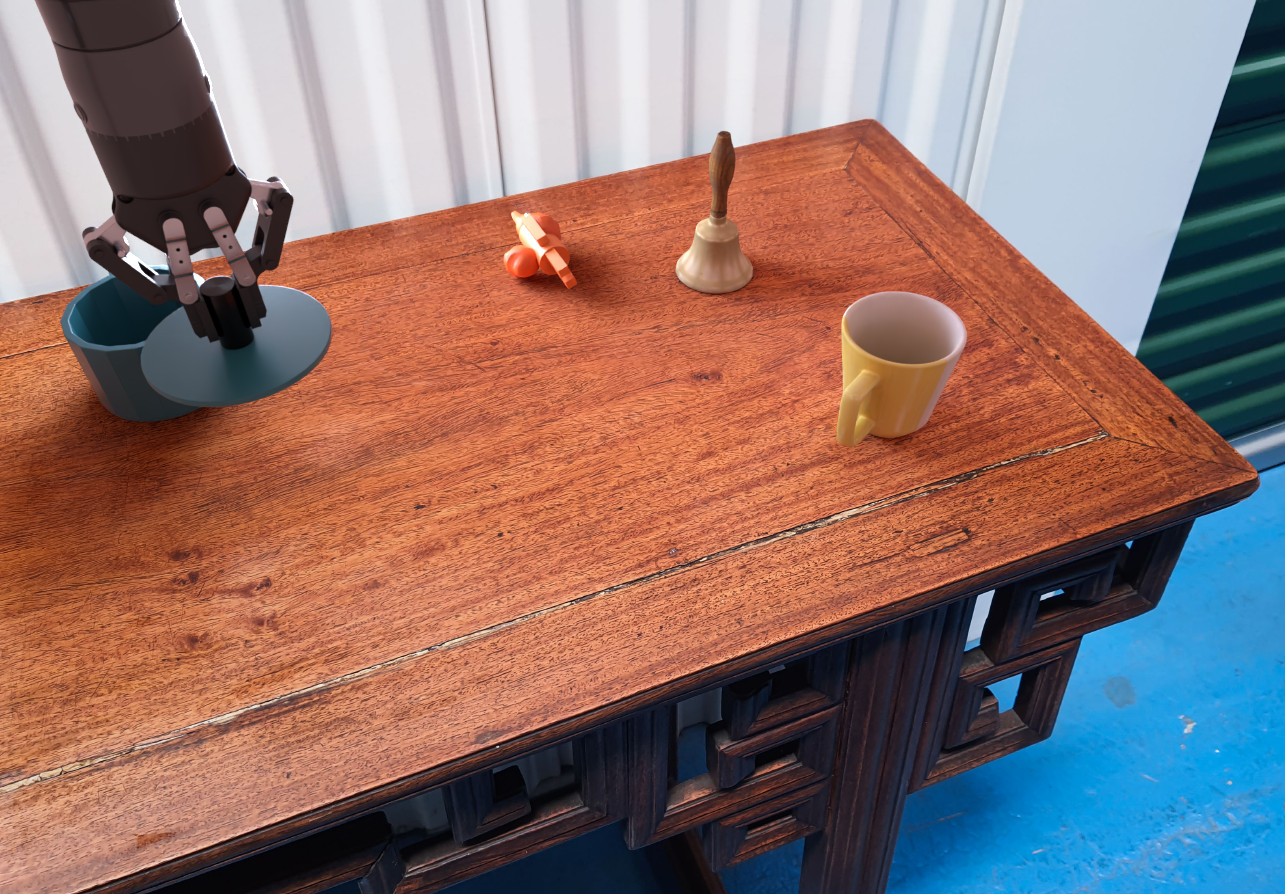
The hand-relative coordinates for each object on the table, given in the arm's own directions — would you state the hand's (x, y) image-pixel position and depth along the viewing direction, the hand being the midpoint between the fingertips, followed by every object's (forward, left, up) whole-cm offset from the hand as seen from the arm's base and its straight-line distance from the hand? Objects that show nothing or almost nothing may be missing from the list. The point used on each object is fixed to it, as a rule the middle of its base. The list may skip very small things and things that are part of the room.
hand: (232, 328), depth 72 cm
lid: (0, 0, -2) cm, 2 cm away
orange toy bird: (+32, +18, -18) cm, 41 cm away
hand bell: (+48, +8, -18) cm, 52 cm away
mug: (+47, -19, -18) cm, 54 cm away
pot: (-6, +21, -18) cm, 28 cm away
